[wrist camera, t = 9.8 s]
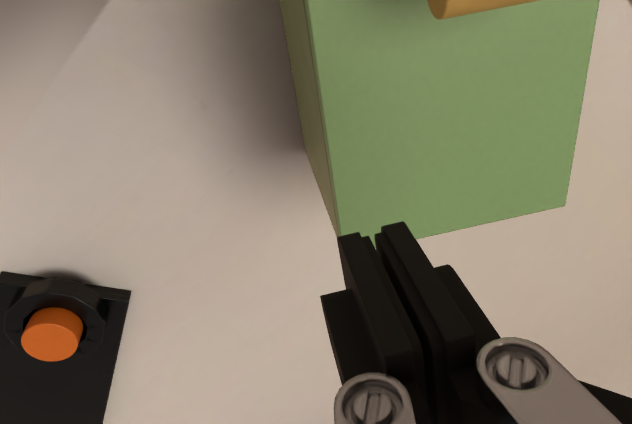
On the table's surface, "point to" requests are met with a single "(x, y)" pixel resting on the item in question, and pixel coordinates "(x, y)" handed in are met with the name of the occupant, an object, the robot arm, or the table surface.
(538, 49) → the lid
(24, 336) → the button
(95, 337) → the button housing
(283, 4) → the chest
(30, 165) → the table surface
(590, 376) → the table surface
